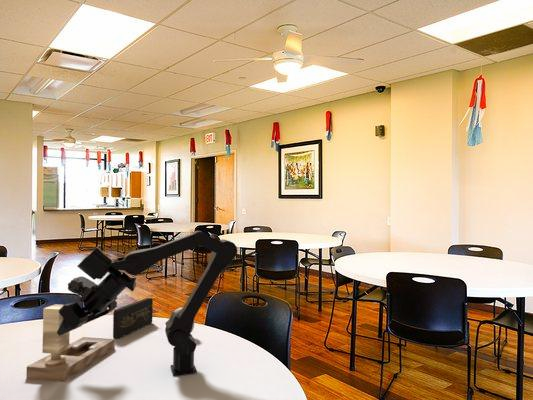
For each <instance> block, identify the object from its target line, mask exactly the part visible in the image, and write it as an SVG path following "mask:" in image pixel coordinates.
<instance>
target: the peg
mask: <svg viewBox="0 0 533 400" xmlns="http://www.w3.org/2000/svg"><path fill="white" fill-rule="evenodd" d="M63 305H64V304H59V303H57V304H56V303H55V304H52V305H49V306H45V307H44V308H42V309H43V310H42V311H43V312H42V313H43V314H42V315H43V316H42V350H41V351H42V352H41V353H42V354H51V357H48V358H47V359H46V360H45V364H46V365H47V366H56V365H60V364H63V363H65V362H66V356H64V355H61V352H63V351H65V350H66V349H68V348H69V344H70V332H71V331H69V332H67V333H65V334H62V335H60V336H59V335H58V334H57V331H58V329H59V327H60V325H61V323H62V320H63V317H62V316H61V314H60V313H59V310H60V309H61V308H62V306H63Z"/></svg>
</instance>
